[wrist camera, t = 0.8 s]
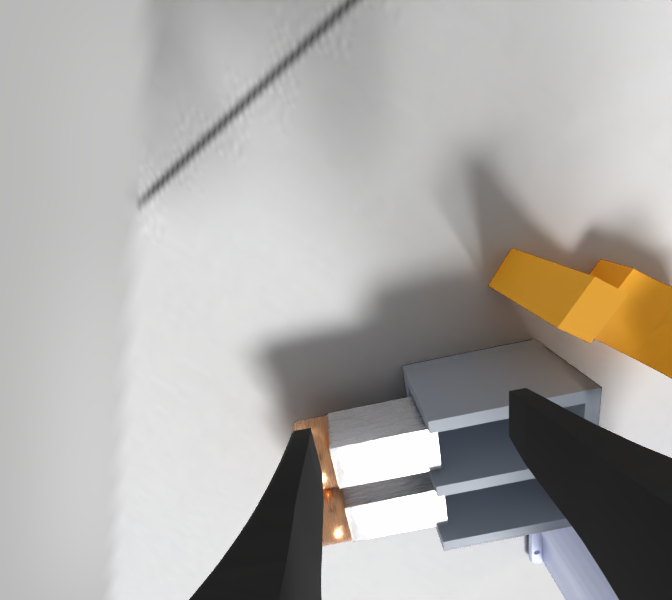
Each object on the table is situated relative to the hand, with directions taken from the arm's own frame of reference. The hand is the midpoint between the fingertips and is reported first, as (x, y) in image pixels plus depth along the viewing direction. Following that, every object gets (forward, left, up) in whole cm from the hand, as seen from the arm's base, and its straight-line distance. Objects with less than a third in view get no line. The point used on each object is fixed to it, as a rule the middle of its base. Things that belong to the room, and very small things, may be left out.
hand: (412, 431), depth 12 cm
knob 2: (-11, +2, -8) cm, 14 cm away
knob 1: (-6, +2, -8) cm, 11 cm away
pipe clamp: (-1, -14, -10) cm, 17 cm away
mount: (-9, -6, -10) cm, 14 cm away
